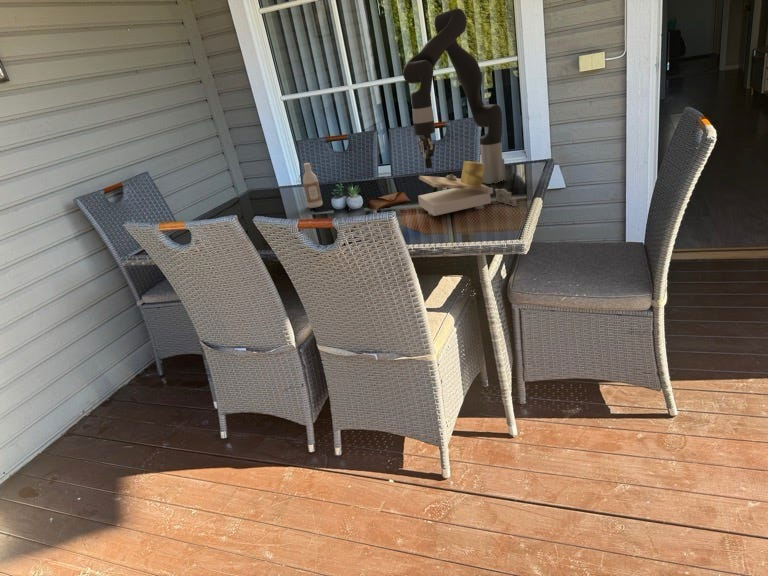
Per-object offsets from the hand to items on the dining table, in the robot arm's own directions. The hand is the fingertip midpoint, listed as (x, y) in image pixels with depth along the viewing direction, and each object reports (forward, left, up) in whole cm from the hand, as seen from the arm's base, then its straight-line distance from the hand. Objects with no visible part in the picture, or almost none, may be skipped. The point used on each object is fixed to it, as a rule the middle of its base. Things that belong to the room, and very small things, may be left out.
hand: (428, 167), depth 194 cm
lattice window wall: (-27, +8, -18) cm, 33 cm away
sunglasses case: (+10, -28, -19) cm, 36 cm away
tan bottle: (+40, -53, -18) cm, 69 cm away
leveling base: (-9, 0, -18) cm, 20 cm away
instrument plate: (-9, 0, -9) cm, 12 cm away
